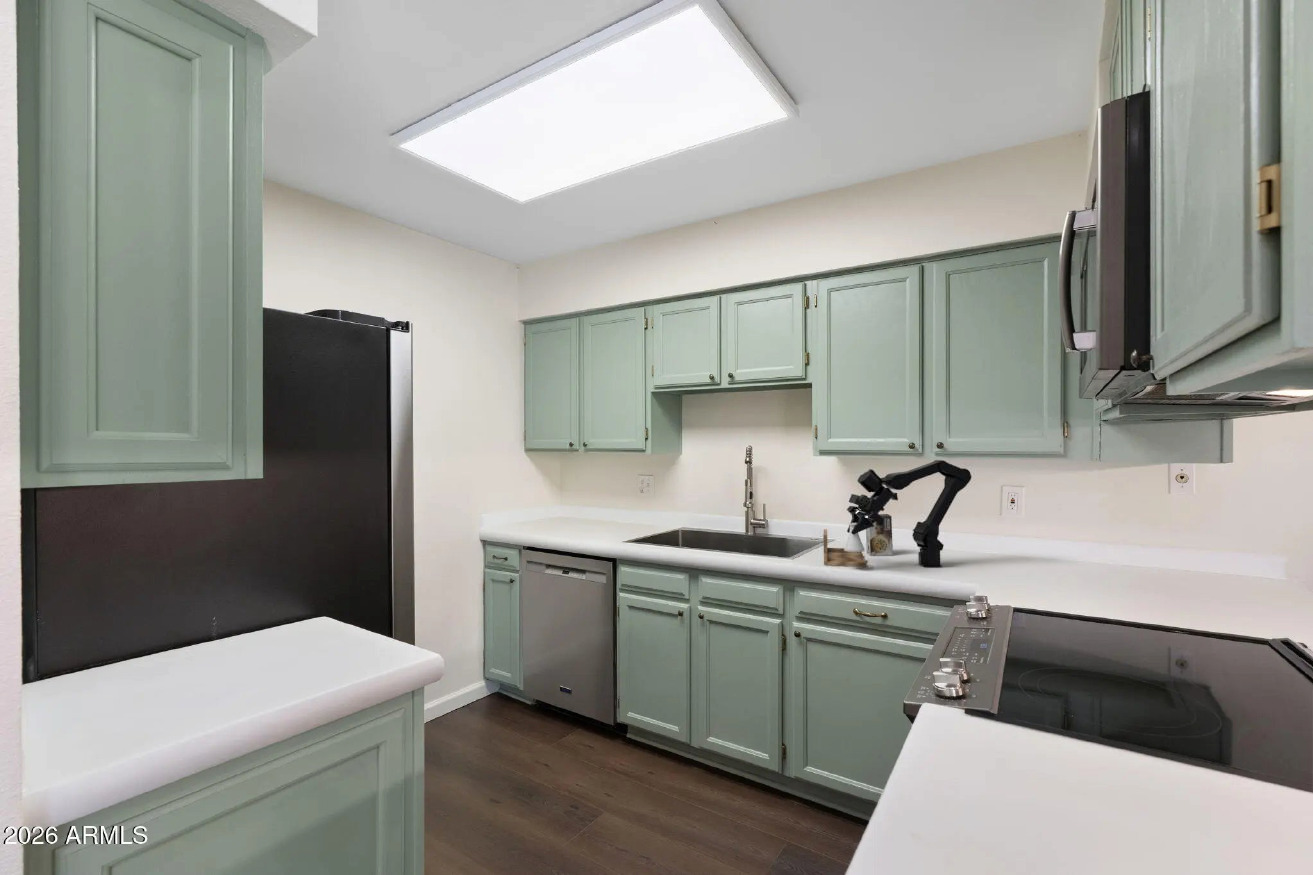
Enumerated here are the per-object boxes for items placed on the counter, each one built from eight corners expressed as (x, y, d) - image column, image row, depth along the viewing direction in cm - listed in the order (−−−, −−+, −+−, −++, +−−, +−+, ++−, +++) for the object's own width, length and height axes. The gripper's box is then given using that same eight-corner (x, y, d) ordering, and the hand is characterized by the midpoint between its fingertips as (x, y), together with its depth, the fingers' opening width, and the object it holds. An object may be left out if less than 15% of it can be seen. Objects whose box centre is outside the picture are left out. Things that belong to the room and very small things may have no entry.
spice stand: (864, 559, 234) (863, 530, 234) (866, 567, 220) (865, 535, 220) (824, 558, 238) (823, 529, 238) (824, 565, 224) (823, 534, 224)
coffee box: (888, 552, 246) (887, 513, 246) (893, 555, 240) (892, 515, 240) (865, 552, 247) (864, 513, 247) (869, 555, 241) (868, 515, 241)
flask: (848, 548, 222) (848, 521, 222) (868, 550, 217) (867, 522, 217) (840, 551, 217) (839, 524, 217) (859, 553, 212) (859, 525, 212)
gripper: (851, 484, 227) (824, 514, 225) (874, 488, 208) (845, 521, 207) (871, 504, 228) (844, 534, 226) (897, 509, 209) (868, 542, 208)
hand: (850, 532), depth 217 cm, fingers closed on flask, 3 cm apart
